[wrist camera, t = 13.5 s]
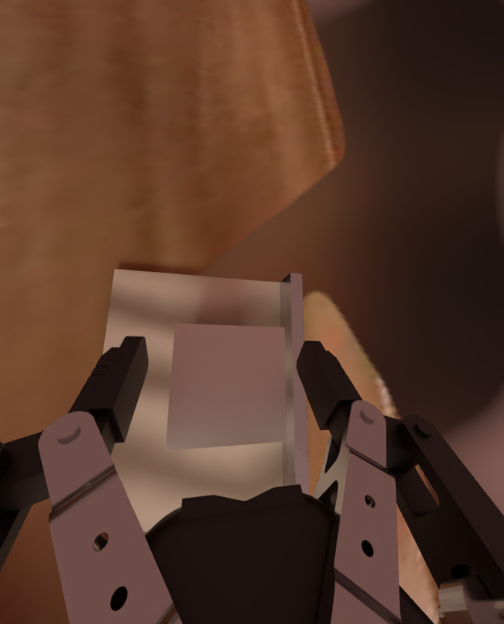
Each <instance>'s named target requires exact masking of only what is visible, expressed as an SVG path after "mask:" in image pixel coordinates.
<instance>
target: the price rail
mask: <svg viewBox="0 0 504 624" xmlns="http://www.w3.org/2000/svg"><path fill="white" fill-rule="evenodd" d="M280 306H281V327H285V376H286V434H287V442H283V486H288V485H296V484H300V485H301V489H302V492H303V493H305V494H308V495H310V493H309V464H308V435H307V407H306V393H305V390H304V388H303V385H302V383H301V380H300V378H299V375H298V373H297V369H296V362H297V359H298V356H299V353H300V351H301V348H302V346H303V343H304V321H303V292H302V274H298V273H290V274H289V275H288V276H286V277H285V278H284V279H283V280H282V281H281V282H280Z"/></svg>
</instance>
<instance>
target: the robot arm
mask: <svg viewBox="0 0 504 624" xmlns="http://www.w3.org/2000/svg"><path fill="white" fill-rule="evenodd" d="M148 364H149V360H148V353H147V346H146V340H145V337H144V336H126V337H125V338H124V340H123V342H122V344H121V345H120V347H111V348H110V349H109V350H108V351H107V352H105V353H104V354H103V355H102V356H101V358H100V359H99V361H98V363H97V364H96V368H94V370H93V371H92V373H91V376H89V378H88V380H87V382H86V383H85V385H84V387H83V388H82V390H81V392H80V394H79V395H78V397H77V399H76V400H75V402H74V404H73V406H72V407H71V409H70V410H69V412H68V413H67V414H66V415H64V416H62V417H60V418H58V419H56V420H55V421H54V422H52V423H51V424H50V425H49V426H48V427H47V428H46V429H45V430H44V431H42V432H40V433H37V434H34V435H30V436H27V437H24V438H21V439H17V440H14V441H11V442H8V443H4V444H2V443H1V442H0V570H1V568H2V566H3V564H4V562H5V560H6V558H7V556H8V554H9V552H10V550H11V548H12V545H13V543H14V541H15V539H16V537H17V535H18V533H19V531H20V529H21V527H22V525H23V523H24V520H25V518H26V516H27V514H28V512H29V510H30V508H31V506H32V505H33V504H35V503H38V502H40V501H43V500H45V499H47V498H50V500H51V505H52V512H51V513H50V514H49V527H50V532H51V537H52V542H53V547H54V551H55V556H56V561H57V566H58V570H59V575H60V580H61V585H62V589H63V594H64V599H65V604H66V608H67V613H68V618H69V623H70V624H434V623H433V622H432V621H431V620H430V619H429V617H428V616H427V615H426V614H425V613H424V612H423V611H422V610H421V609H420V607H419V606H418V605H417V604H416V603H415V602H414V601H413V600H412V599H411V598H410V596H409V595H408V594H407V593H406V592H405V591H404V590H403V589H402V588H401V586H400V585H399V571H398V541H397V511H396V503H397V505H398V507H399V509H400V511H401V513H402V515H403V517H404V519H405V521H406V523H407V525H408V527H409V529H410V531H411V533H412V536H413V538H414V540H415V542H416V544H417V546H418V548H419V550H420V552H421V554H422V556H423V558H424V560H425V562H426V564H427V566H428V568H429V570H430V572H431V574H432V576H433V578H434V580H435V582H436V584H437V586H438V589H439V601H440V605H439V606H438V616H439V619H440V621H441V623H442V624H504V516H503V515H502V513H501V512H500V511H499V509H498V508H497V507H496V505H495V504H494V503H493V501H492V500H491V499H490V498H489V496H488V495H487V494H486V492H485V491H484V490H483V489H482V488H481V486H480V485H479V484H478V482H477V481H476V480H475V478H474V477H473V476H472V474H471V473H470V472H469V471H468V469H467V468H466V467H465V466H464V464H463V463H462V462H461V461H460V459H459V458H458V456H457V455H456V454H455V453H454V451H453V450H452V449H451V447H450V446H449V445H448V444H447V442H446V441H445V440H444V439H443V437H442V436H441V435H440V433H439V432H438V431H437V430H436V429H435V427H434V426H433V425H432V424H431V423H429V422H428V421H427V420H425V419H424V418H422V417H420V416H417V415H413V414H409V415H407V416H405V418H404V419H402V420H399V419H395V418H391V417H388V416H384V415H382V413H381V412H380V411H379V410H378V409H377V408H376V407H375V406H374V405H372V404H370V403H368V402H366V401H363V400H362V398H361V397H360V395H359V394H358V392H357V390H356V389H355V387H354V385H353V384H352V382H351V381H350V379H349V377H348V376H347V374H345V371H344V369H343V368H342V367H341V365H340V363H339V361H338V360H337V358H336V357H335V356H334V355H333V354H332V353H330V352H329V351H326V350H325V349H324V347H323V345H322V344H321V342H320V341H305V342H304V343H303V346H302V348H301V351H300V353H299V356H298V359H297V362H296V369H297V373H298V375H299V378H300V380H301V383H302V385H303V388H304V390H305V393H306V395H307V398H308V400H309V403H310V406H311V408H312V411H313V413H314V416H315V418H316V421H317V423H318V426H319V428H320V430H329V431H330V433H331V436H330V437H329V441H328V445H327V449H326V454H325V458H324V462H323V467H322V471H321V475H320V478H319V481H318V483H317V485H316V487H315V490H314V493H313V496H310V495H308V494H305V493H303V492H302V489H301V485H300V484H296V485H288V486H280V487H273V488H271V489H269V490H267V491H265V492H263V493H261V494H259V495H257V496H255V497H253V498H251V499H249V500H246V501H242V500H237V499H232V498H228V497H223V496H218V495H206V496H198V497H190V498H182V504H181V507H180V508H178V509H176V510H174V511H172V512H170V513H169V514H167V515H166V516H165V517H163V518H162V519H161V520H160V521H158V522H157V523H156V524H155V525H154V526H153V527H152V528H151V529H150V530H149V531H148V533H147V534H146V535H145V534H144V532H143V530H142V527H141V525H140V523H139V520H138V518H137V516H136V513H135V511H134V509H133V507H132V504H131V502H130V500H129V497H128V495H127V493H126V491H125V488H124V486H123V484H122V481H121V479H120V477H119V474H118V472H117V470H116V467H115V465H114V463H113V461H112V458H111V453H112V451H113V448H114V445H115V443H125V440H126V437H127V434H128V430H129V427H130V424H131V421H132V418H133V415H134V412H135V409H136V406H137V402H138V399H139V396H140V393H141V390H142V387H143V384H144V381H145V378H146V374H147V371H148ZM417 465H419V466H420V468H421V469H422V471H423V472H424V474H425V476H426V477H427V479H428V480H429V482H430V484H431V485H432V487H433V488H434V490H435V492H436V493H437V495H438V498H439V506H438V505H437V503H436V502H435V500H434V498H433V497H432V495H431V493H430V492H429V490H428V488H427V487H426V485H425V484H424V482H423V480H422V479H421V477H420V475H419V474H418V472H417V470H416V469H415V466H417Z"/></svg>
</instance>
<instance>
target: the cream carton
mask: <svg viewBox="0 0 504 624" xmlns="http://www.w3.org/2000/svg"><path fill="white" fill-rule="evenodd" d="M276 442H287V434H286V376H285V327H259V326H232V325H206V324H180V323H175V332H174V345H173V357H172V370H171V383H170V395H169V408H168V420H167V433H166V445H165V451H171V450H184V449H197V448H210V447H223V446H236V445H249V444H262V443H276Z"/></svg>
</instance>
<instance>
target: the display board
mask: <svg viewBox="0 0 504 624" xmlns="http://www.w3.org/2000/svg"><path fill="white" fill-rule="evenodd" d="M175 323H180V324H206V325H232V326H259V327H281V306H280V282H269V281H257V280H244V279H232V278H220V277H208V276H196V275H183V274H171V273H159V272H147V271H134V270H122V269H115V270H114V277H113V284H112V292H111V299H110V306H109V313H108V321H107V328H106V335H105V342H104V349H103V354H104V353H105V352H107V351H108V350H109V349H110V348H111V347H120V345H121V344H122V342H123V340H124V338H125V337H126V336H144V337H145V340H146V346H147V353H148V360H149V364H148V371H147V374H146V378H145V381H144V384H143V387H142V390H141V393H140V396H139V399H138V402H137V406H136V409H135V412H134V415H133V418H132V421H131V424H130V427H129V430H128V434H127V437H126V440H125V443H115V445H114V448H113V451H112V453H111V458H112V461H113V463H114V465H115V467H116V470H117V472H118V474H119V477H120V479H121V481H122V484H123V486H124V488H125V491H126V493H127V495H128V497H129V500H130V502H131V504H132V507H133V509H134V511H135V513H136V516H137V518H138V520H139V523H140V525H141V527H142V530H143V532H147V531H149V530H150V529H151V528H152V527H153V526H154V525H155V524H156V523H157V522H158V521H160V520H161V519H162V518H163V517H165V516H166V515H167V514H169V513H170V512H172V511H174V510H176V509H178V508H180V507H181V504H182V498H190V497H198V496H206V495H218V496H223V497H228V498H232V499H237V500H242V501H246V500H249V499H251V498H253V497H255V496H257V495H259V494H261V493H263V492H265V491H267V490H269V489H271V488H273V487H280V486H283V442H276V443H262V444H249V445H236V446H223V447H210V448H197V449H184V450H171V451H165V445H166V433H167V420H168V408H169V395H170V383H171V370H172V357H173V345H174V332H175Z"/></svg>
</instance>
